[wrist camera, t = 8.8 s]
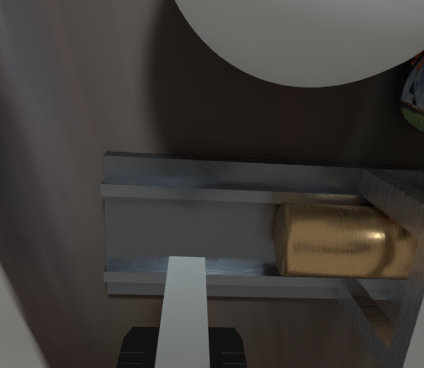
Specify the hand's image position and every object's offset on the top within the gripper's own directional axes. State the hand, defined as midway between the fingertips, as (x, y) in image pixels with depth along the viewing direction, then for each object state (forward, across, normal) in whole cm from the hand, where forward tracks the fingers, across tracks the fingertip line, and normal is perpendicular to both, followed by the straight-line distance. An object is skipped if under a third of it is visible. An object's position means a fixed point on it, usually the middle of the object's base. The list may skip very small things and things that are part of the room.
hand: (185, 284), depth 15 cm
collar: (+7, +11, -1) cm, 13 cm away
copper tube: (+6, +11, -1) cm, 13 cm away
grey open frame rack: (+7, +7, -1) cm, 10 cm away
